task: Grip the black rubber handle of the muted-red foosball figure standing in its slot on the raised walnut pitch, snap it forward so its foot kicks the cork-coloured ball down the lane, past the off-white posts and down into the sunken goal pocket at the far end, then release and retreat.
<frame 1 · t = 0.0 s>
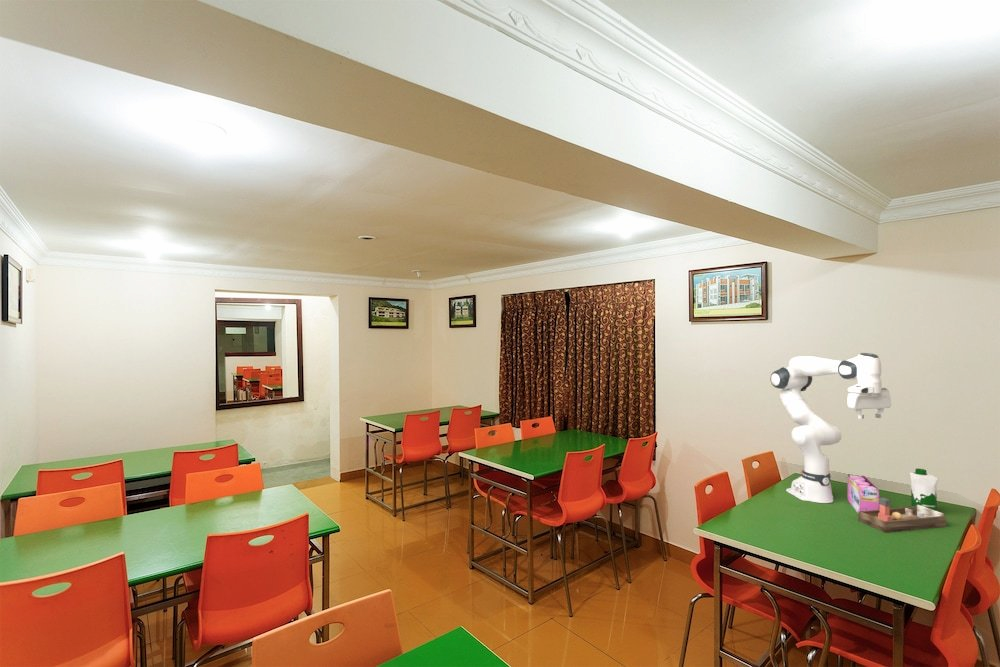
hand: (869, 418, 220), 48 cm above the table, fingers open, 8 cm apart
gum box: (862, 508, 236), on the table
milk carton: (924, 512, 230), on the table
ball: (896, 516, 217), point 4 cm above the table, touching pitch
pitch: (901, 523, 217), on the table
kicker: (884, 509, 216), point 7 cm above the table, slide at 0.0 cm
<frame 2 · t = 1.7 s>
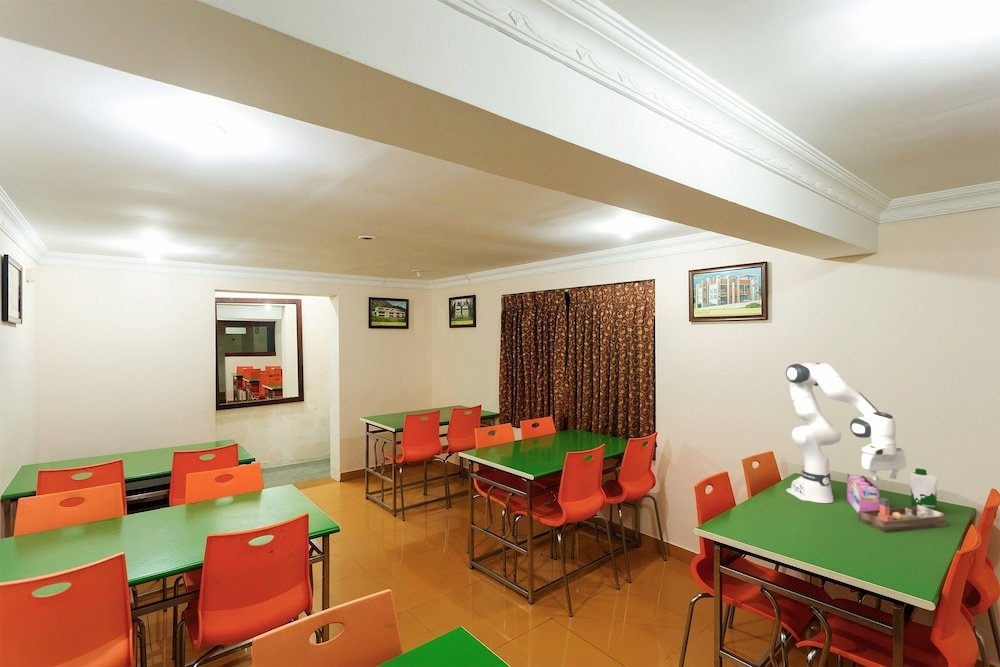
hand: (884, 479, 215), 21 cm above the table, fingers open, 8 cm apart
nothing on the table moved.
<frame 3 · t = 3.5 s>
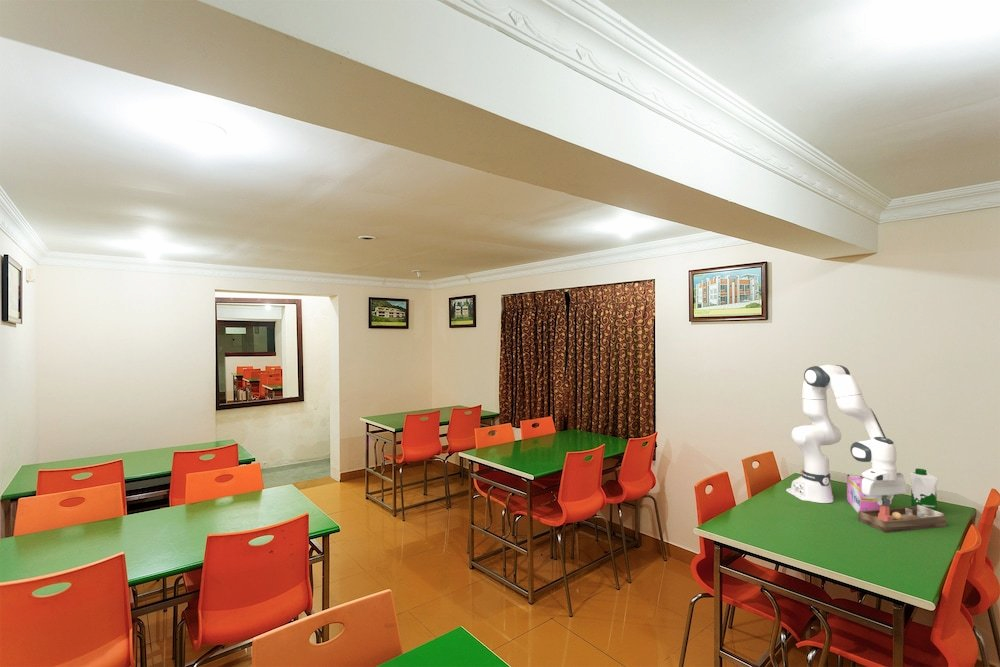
hand: (884, 504, 216), 10 cm above the table, fingers closed on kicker, 2 cm apart
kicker: (884, 509, 216), point 7 cm above the table, slide at 0.0 cm, touching gripper
everything else where it was.
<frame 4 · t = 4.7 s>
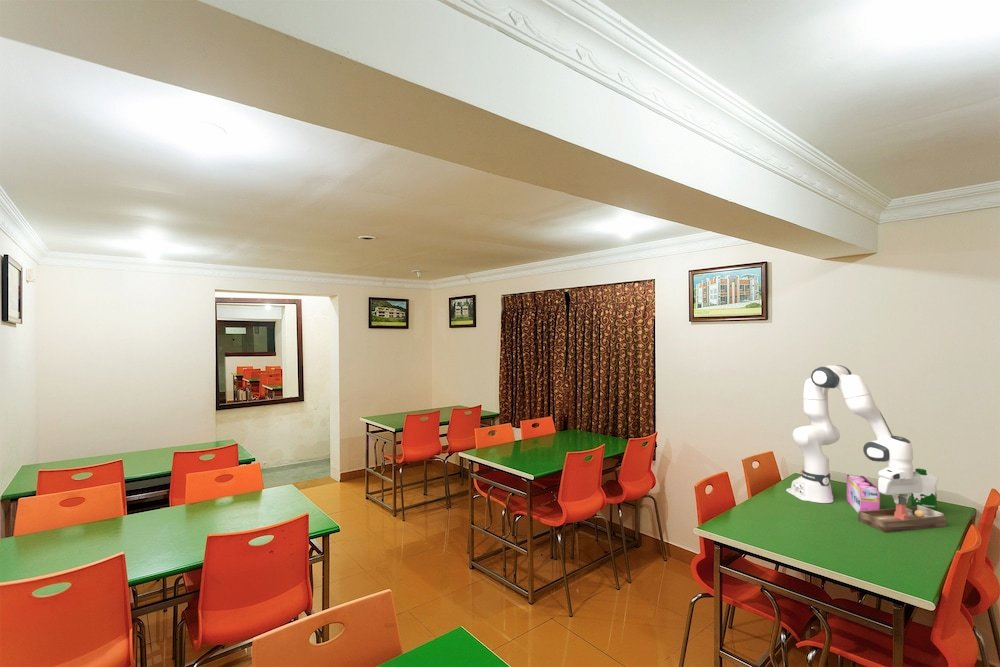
hand: (900, 502, 217), 10 cm above the table, fingers closed on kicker, 2 cm apart
ball: (919, 513, 219), point 4 cm above the table, tilted 31°, touching pitch
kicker: (900, 508, 217), point 7 cm above the table, slide at 8.7 cm, touching gripper
everything else where it was.
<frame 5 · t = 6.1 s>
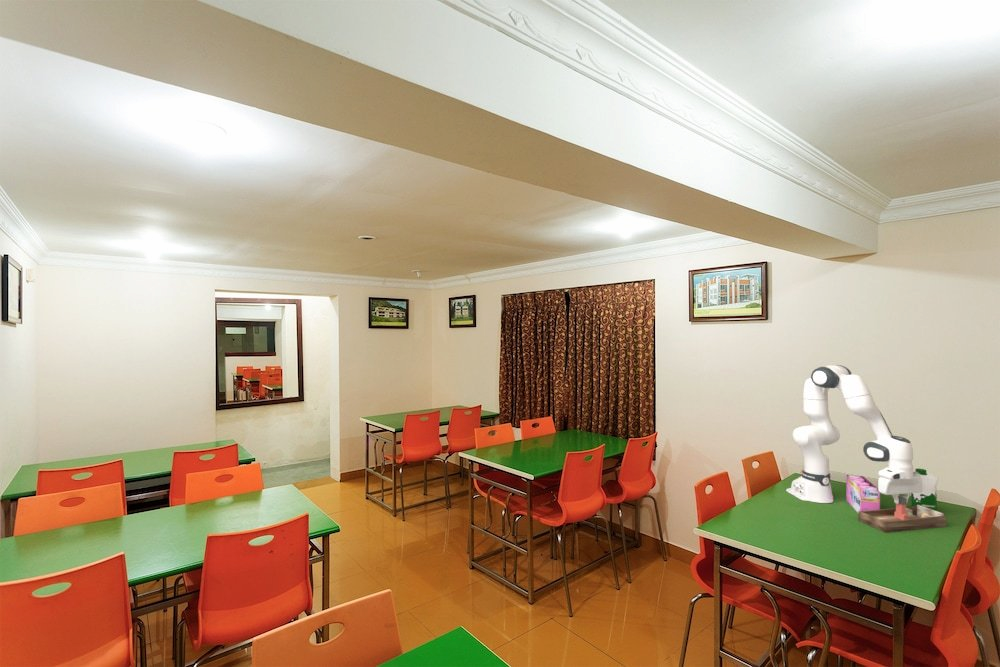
hand: (900, 502, 217), 10 cm above the table, fingers closed on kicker, 2 cm apart
ball: (925, 517, 219), point 2 cm above the table, tilted 156°, touching pitch
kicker: (900, 508, 217), point 7 cm above the table, slide at 8.8 cm, touching gripper
everything else where it was.
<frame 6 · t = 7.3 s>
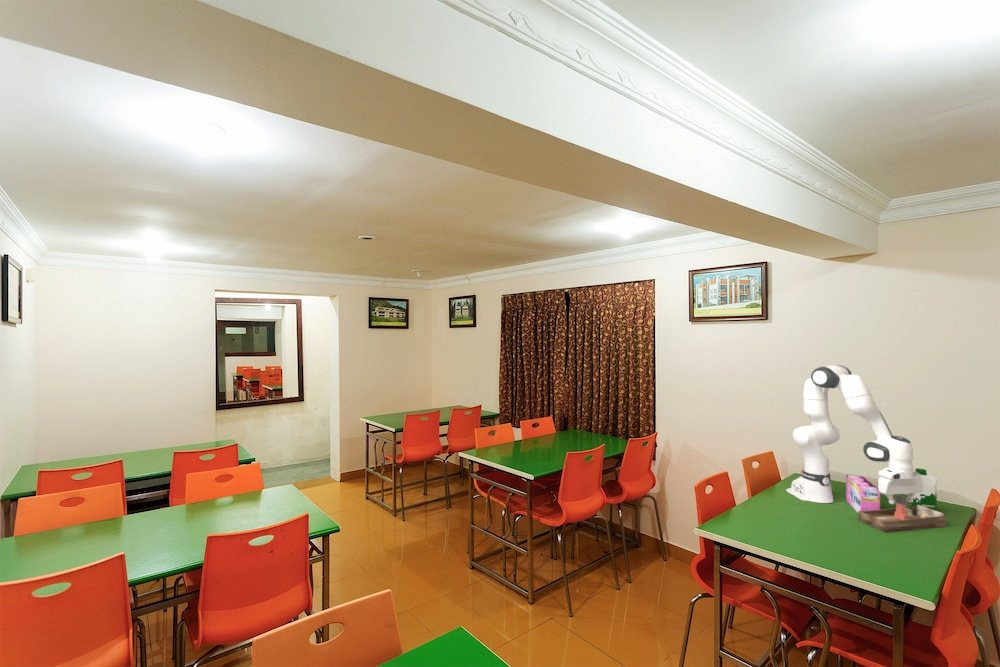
hand: (900, 502, 217), 10 cm above the table, fingers open, 8 cm apart
ball: (925, 517, 219), point 2 cm above the table, tilted 150°, touching pitch
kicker: (901, 508, 217), point 7 cm above the table, slide at 8.8 cm
everything else where it was.
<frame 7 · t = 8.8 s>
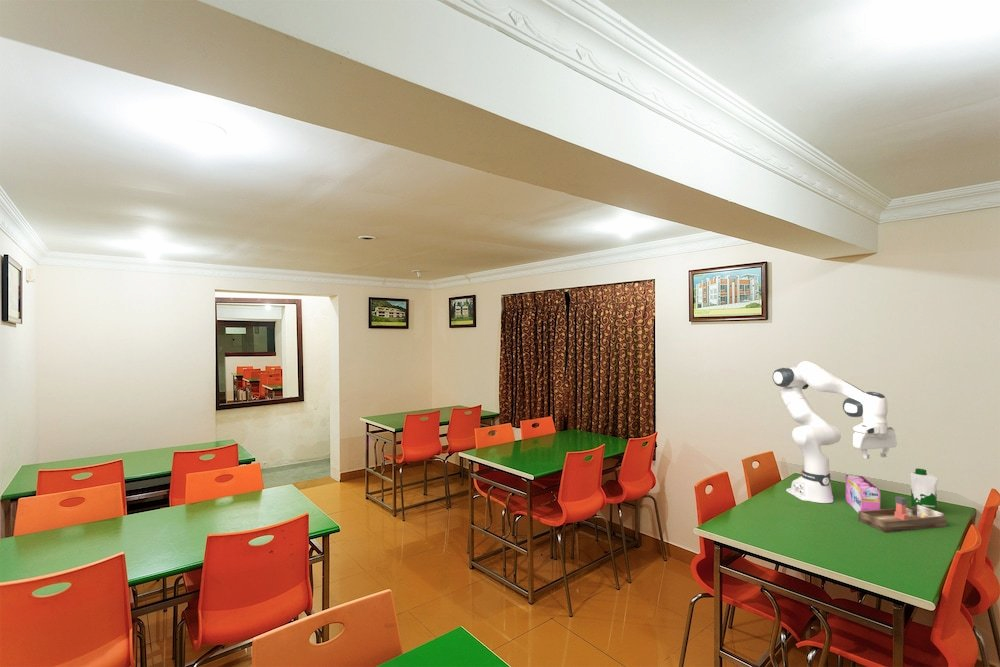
hand: (874, 457, 219), 30 cm above the table, fingers open, 8 cm apart
ball: (924, 517, 219), point 2 cm above the table, tilted 142°, touching pitch
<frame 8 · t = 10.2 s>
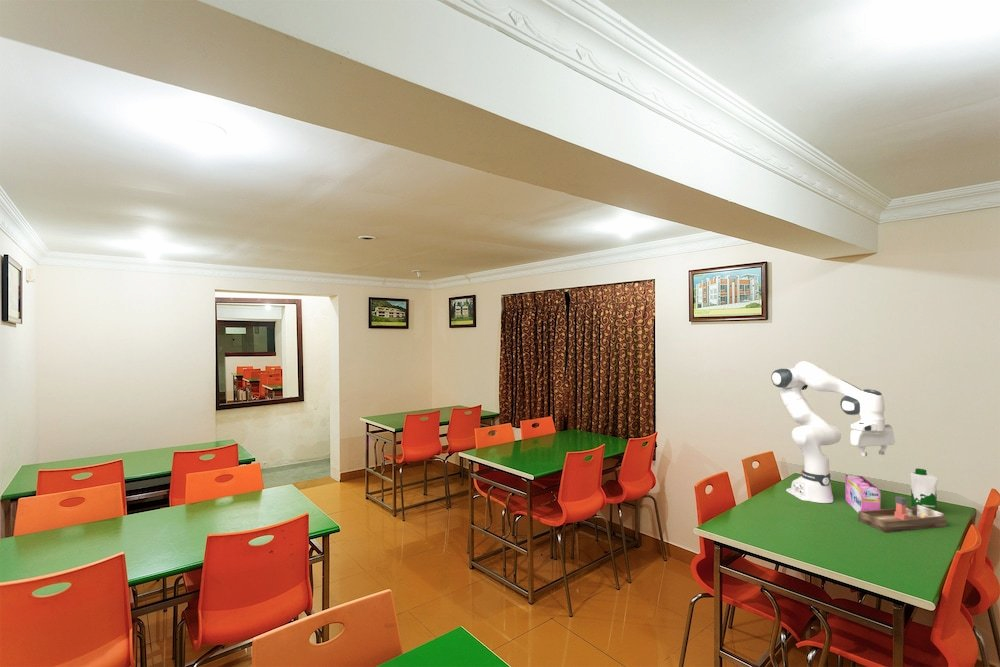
hand: (872, 455, 219), 31 cm above the table, fingers open, 8 cm apart
ball: (924, 517, 219), point 2 cm above the table, tilted 136°, touching pitch
at the end: ball inside the target area on the pitch (0.4 cm from its centre), point 1.9 cm above the pitch's base; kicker slide at 8.8 cm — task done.
